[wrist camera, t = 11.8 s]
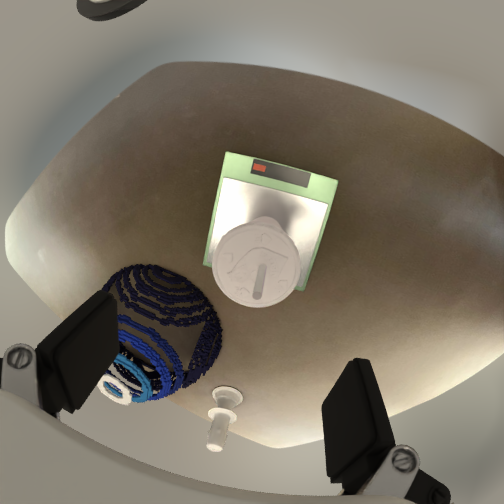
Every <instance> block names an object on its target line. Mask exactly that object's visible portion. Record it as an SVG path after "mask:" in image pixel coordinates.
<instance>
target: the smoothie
mask: <svg viewBox="0 0 504 504" xmlns="http://www.w3.org/2000/svg"><path fill="white" fill-rule="evenodd" d="M212 270H213V275H214V278H215V281H216V283H217V285H218V286H219V288H220V289H221V290H222V292H223V293H224V294H225V295H226V296H228V297H229V298H230V299H232V300H233V301H235V302H237V303H239V304H242V305H245V306H249V307H267V306H271V305H274V304H276V303H279V302H280V301H282V300H283V299H285V298H286V297H287V296H288V295H289V294H290V293H291V292H292V291H293V290H294V288H295V286H296V284H297V282H298V279H299V276H300V256H299V252H298V249H297V247H296V245H295V243H294V241H293V240H292V239H291V238H290V237H289V236H288V235H287V234H286V232H284V231H283V230H282V228H281V226H280V224H279V223H278V222H277V221H276V220H275V219H273V218H271V217H267V216H262V217H258V218H256V219H254V220H253V221H251V222H248V223H243V224H239V225H238V226H236V227H234V228H232V229H230V230H229V231H228V232H227V233H226V234H225V235H224V236H223V237H222V238H221V240H220V241H219V243H218V245H217V247H216V249H215V252H214V255H213V260H212Z"/></svg>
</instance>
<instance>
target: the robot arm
mask: <svg viewBox="0 0 504 504" xmlns="http://www.w3.org/2000/svg"><path fill="white" fill-rule="evenodd" d="M90 1H92V2H94V3H104V2H108V1H110V0H90ZM119 350H120V346H119V334H118V318H117V301H116V299H114V296H113V294H111V293H108V292H105V291H103V290H99V291H97V292H96V293H95V294H94V295H93V296H91V297H90V298H89V299H88V300H87V301H86V302H84V303H83V304H82V305H81V306H80V307H79V308H78V309H76V310H75V311H74V312H73V313H72V314H71V315H70V316H69V317H67V318H66V319H65V320H64V321H63V322H62V323H61V324H60V325H59V326H57V327H56V328H55V329H54V330H53V331H52V332H51V333H50V334H49V335H48V336H47V337H46V338H45V339H44V340H43V341H42V342H41V343H39V344H38V345H37V348H36V349H35V350H34V349H33V348H32V347H31V346H29V345H27V344H21V343H20V344H15V345H12V346H11V347H9V348H8V349H7V350H6V352H5V353H4V357H3V358H0V504H450V500H451V495H450V491H449V489H448V488H447V487H446V486H445V485H444V484H442V483H440V482H439V481H437V480H436V479H434V478H433V477H431V476H429V475H428V474H426V473H425V472H423V471H422V470H420V469H419V466H420V458H419V456H418V454H417V452H416V451H415V450H414V449H413V448H411V447H409V446H407V445H397V446H396V444H395V440H394V436H393V432H392V429H391V425H390V422H389V419H388V415H387V412H386V408H385V405H384V402H383V399H382V396H381V393H380V390H379V386H378V383H377V380H376V377H375V375H374V372H373V369H372V366H371V363H370V361H369V360H368V359H361V358H354V359H353V361H349V362H348V364H347V365H346V367H345V369H344V370H343V372H342V374H341V375H340V377H339V378H338V380H337V382H336V383H335V385H334V386H333V388H332V390H331V391H330V393H329V394H328V396H327V397H326V399H325V400H324V402H323V404H322V420H323V431H324V442H325V455H326V471H327V476H328V477H330V479H331V483H342V488H343V489H342V490H341V491H340V493H339V494H338V495H337V496H301V495H284V494H273V493H263V492H255V491H248V490H242V489H236V488H231V487H225V486H220V485H216V484H211V483H207V482H202V481H198V480H195V479H191V478H188V477H184V476H181V475H177V474H174V473H171V472H168V471H165V470H162V469H159V468H156V467H153V466H151V465H148V464H145V463H143V462H140V461H138V460H135V459H133V458H130V457H128V456H126V455H123V454H121V453H119V452H117V451H114V450H112V449H110V448H108V447H106V446H104V445H102V444H100V443H98V442H96V441H94V440H92V439H90V438H88V437H87V436H85V435H83V434H81V433H79V432H78V431H76V430H74V429H72V428H71V427H69V426H67V425H66V424H64V423H62V422H61V421H60V416H59V412H60V411H61V409H62V408H63V409H64V410H66V411H68V412H69V413H71V414H73V412H74V411H75V409H77V410H79V409H80V408H81V406H82V405H83V404H84V402H85V401H86V399H87V398H88V396H89V395H90V393H91V392H92V391H93V389H94V388H95V386H96V385H97V384H98V382H99V381H100V379H101V378H102V377H103V375H104V374H105V372H106V371H107V370H108V368H109V367H110V365H111V364H112V363H113V361H114V360H115V359H116V357H117V356H118V354H119ZM452 504H454V503H452Z"/></svg>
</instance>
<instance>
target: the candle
mask: <svg viewBox="0 0 504 504" xmlns="http://www.w3.org/2000/svg"><path fill="white" fill-rule="evenodd" d="M212 396H213V398H214V399H215V402H216V404H217V405H218V407H217V408H212V409H210V410H209V412H208V415H209V417H210V418H211V419H212V420H213V422H212V426H211V429H210V431H209V432H208V439H207V448H208V449H210V450H211V451H216V452H219V451H222V449H223V448H224V445H225V441H226V438H227V430H228V426H229V424H231V423H234V422H235V421H236V420H237V416H236V414H235V413H234V412H232V411H231V409H232V408H235V407H236V406H237V405H238V404H240V403H241V402H242V400H243V396H242V394H241V393H240V392H239V391H238V390H236V389H234V388H232V387H227V386H221V387H217V388H215V389H214V390H213V392H212Z"/></svg>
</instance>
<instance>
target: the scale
mask: <svg viewBox="0 0 504 504" xmlns="http://www.w3.org/2000/svg"><path fill="white" fill-rule="evenodd" d="M223 177H230V178H235V179H239V180H243V181H248V182H252V183H256V184H260V185H264V186H268V187H272V188H276V189H280V190H283V191H287V192H291V193H294V194H298V195H302V196H305V197H309V198H312V199H316V200H319V201H323V202H326V203H328V208H327V212H326V215H325V218H324V222H323V225H322V228H321V231H320V235H319V238H318V241H317V244H316V247H315V250H314V254H313V257H312V260H311V263H310V266H309V269H308V272H307V275H306V278H305V281H304V283H303V286H302V287H299V286H295V288H294V289H296V290H300V291H304V290H305V287H306V284H307V281H308V278H309V275H310V272H311V269H312V266H313V263H314V260H315V257H316V254H317V251H318V248H319V245H320V242H321V239H322V236H323V232H324V229H325V226H326V223H327V219H328V216H329V213H330V209H331V206H332V203H333V199H334V196H335V192H336V189H337V185H338V180H335V179H332V178H329V177H326V176H322V175H319V174H316V173H312V172H309V171H305V170H302V169H298V168H294V167H291V166H287V165H283V164H279V163H275V162H271V161H267V160H263V159H259V158H255V157H250V156H246V155H241V154H237V153H232V152H227V151H226V154H225V158H224V163H223V167H222V171H221V176H220V180H219V185H218V190H217V194H216V199H215V204H214V209H213V214H212V219H211V224H210V229H209V234H208V239H207V245H206V250H205V255H204V261H203V265H205V266H208V267H212V264H211V263H208V262H207V256H208V250H209V245H210V240H211V235H212V230H213V225H214V220H215V215H216V210H217V205H218V200H219V196H220V191H221V187H222V182H223Z"/></svg>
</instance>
